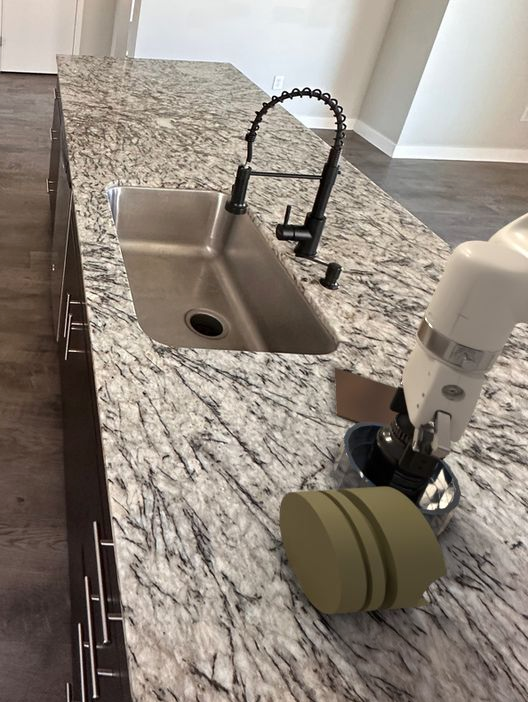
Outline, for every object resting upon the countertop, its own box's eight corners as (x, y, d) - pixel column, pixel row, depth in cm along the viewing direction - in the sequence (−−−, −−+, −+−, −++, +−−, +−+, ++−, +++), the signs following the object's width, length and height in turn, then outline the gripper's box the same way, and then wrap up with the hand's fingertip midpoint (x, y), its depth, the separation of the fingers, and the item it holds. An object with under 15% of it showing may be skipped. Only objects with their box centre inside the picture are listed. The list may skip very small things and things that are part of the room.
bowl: (435, 472, 77) (448, 446, 75) (455, 561, 66) (471, 533, 64) (332, 434, 83) (341, 408, 80) (334, 510, 72) (346, 483, 70)
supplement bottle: (426, 496, 74) (458, 434, 69) (404, 524, 70) (436, 462, 65) (373, 457, 79) (399, 398, 74) (350, 481, 75) (376, 421, 70)
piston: (425, 627, 60) (462, 567, 55) (323, 636, 59) (353, 575, 54) (358, 523, 70) (385, 465, 66) (271, 529, 69) (292, 470, 65)
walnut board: (414, 396, 90) (415, 394, 89) (425, 449, 81) (426, 446, 80) (333, 369, 95) (334, 367, 94) (335, 416, 86) (336, 413, 85)
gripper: (520, 406, 55) (456, 513, 62) (477, 308, 69) (429, 404, 76) (432, 378, 58) (381, 483, 65) (409, 289, 72) (368, 383, 79)
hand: (407, 440), depth 70 cm, fingers open, 9 cm apart
